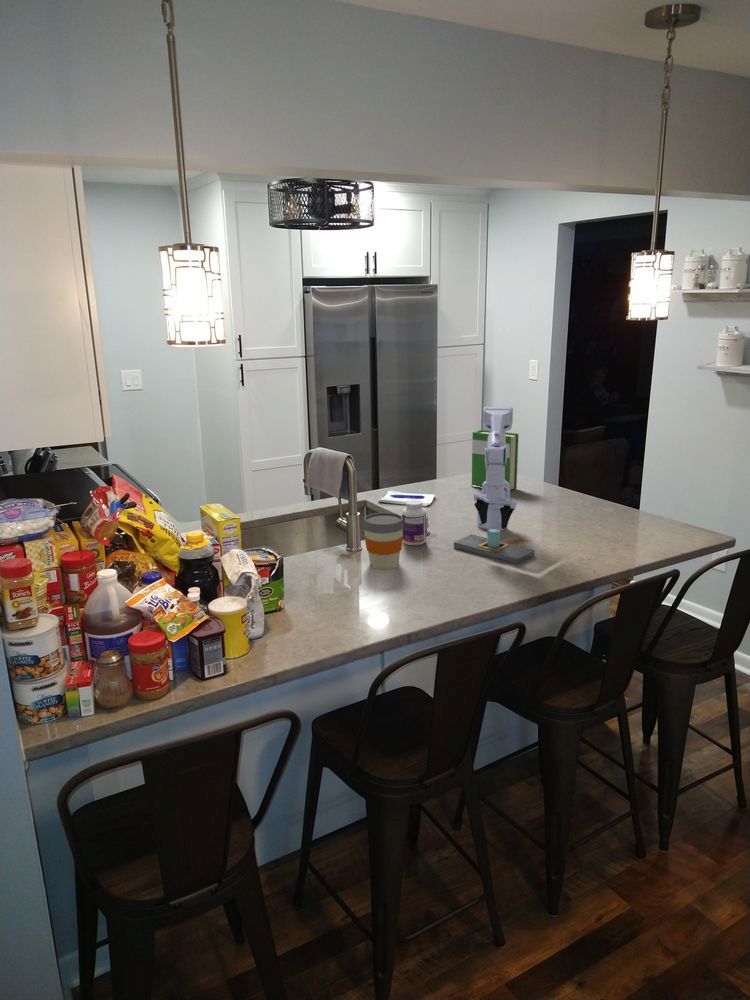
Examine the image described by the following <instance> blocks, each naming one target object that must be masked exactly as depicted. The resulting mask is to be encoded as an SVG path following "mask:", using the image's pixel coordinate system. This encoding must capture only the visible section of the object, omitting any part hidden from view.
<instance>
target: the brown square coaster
mask: <svg viewBox="0 0 750 1000" xmlns="http://www.w3.org/2000/svg"><path fill="white" fill-rule="evenodd" d="M500 542H504V543H508V544H512V545H517V546H521V547H523V546H524V545H526V544H528V543H529V542H532V540H531V539H526V538H522V537H518V536H514V535H509V536H507V537H505V538H503V539H500Z"/></svg>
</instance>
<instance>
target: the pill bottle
mask: <svg viewBox="0 0 750 1000" xmlns="http://www.w3.org/2000/svg"><path fill="white" fill-rule="evenodd" d="M401 513H402V515H401V516H402V517H403V523H404V528H403V531H402V534H403V542H402V543H403V544H405V545H407V546H415V547H416V546H421V545H424V544H425V543H426V542H427V510H426V509H425V508H424V507H423V501H422V500H420V499H410V500H409V499H408V500H407V501H406V502H405V508H403V509H402V511H401Z"/></svg>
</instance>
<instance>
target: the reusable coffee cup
mask: <svg viewBox="0 0 750 1000" xmlns="http://www.w3.org/2000/svg"><path fill="white" fill-rule="evenodd" d="M403 528H404V523H403V517H402V515H400V514H398V513H395V512H393V513H392V512H377V513H376V512H374V513H371V514H367V515H365V516H364V518H363V530H364V532H365V533H364V540H365V543H364V544H365V548H366V551H367V552H368V557H369V563H370V567H372V568H374V569H378V570H389V569H390V570H391V569H394V568H396V567H398V566H399V565H400V554H401V551H402V549H403V543H404V542H403V534H402V531H403Z"/></svg>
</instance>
